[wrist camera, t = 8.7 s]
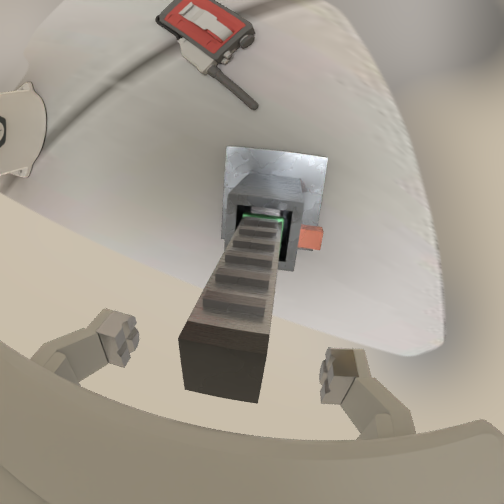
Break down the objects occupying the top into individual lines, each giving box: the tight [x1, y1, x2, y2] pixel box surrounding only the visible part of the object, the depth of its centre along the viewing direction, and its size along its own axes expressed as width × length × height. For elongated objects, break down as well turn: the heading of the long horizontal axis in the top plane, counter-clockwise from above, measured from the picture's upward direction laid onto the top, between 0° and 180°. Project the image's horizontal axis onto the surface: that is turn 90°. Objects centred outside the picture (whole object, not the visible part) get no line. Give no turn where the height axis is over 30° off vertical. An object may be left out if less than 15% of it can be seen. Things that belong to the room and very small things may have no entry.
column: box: [178, 206, 284, 403], centre depth 18 cm, size 3×4×20 cm
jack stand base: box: [221, 146, 328, 271], centre depth 28 cm, size 12×12×13 cm
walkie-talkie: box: [155, 0, 258, 110], centre depth 25 cm, size 9×4×20 cm
